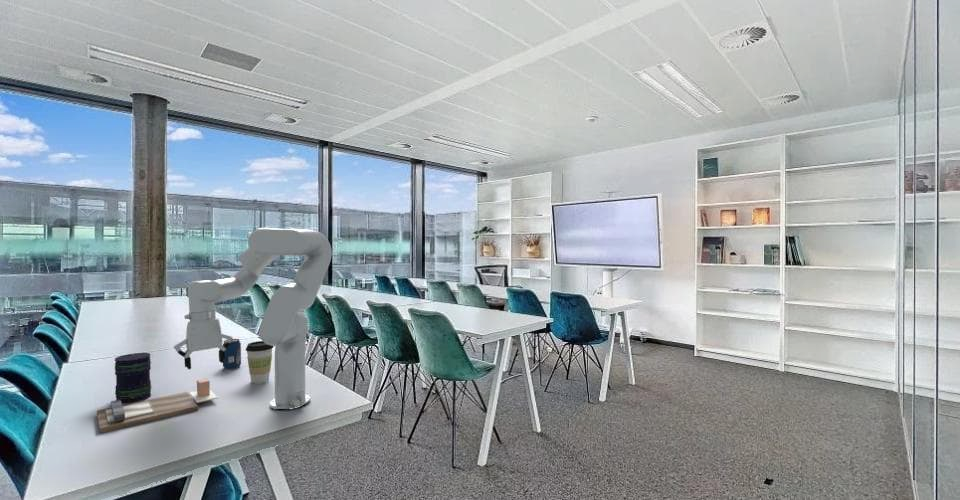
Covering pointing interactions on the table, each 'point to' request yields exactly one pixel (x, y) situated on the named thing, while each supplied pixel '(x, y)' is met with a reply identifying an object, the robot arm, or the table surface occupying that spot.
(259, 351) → the coffee cup
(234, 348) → the soda can
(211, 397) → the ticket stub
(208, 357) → the table surface
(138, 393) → the storage jar
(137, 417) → the board
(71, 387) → the table surface
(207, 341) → the robot arm
